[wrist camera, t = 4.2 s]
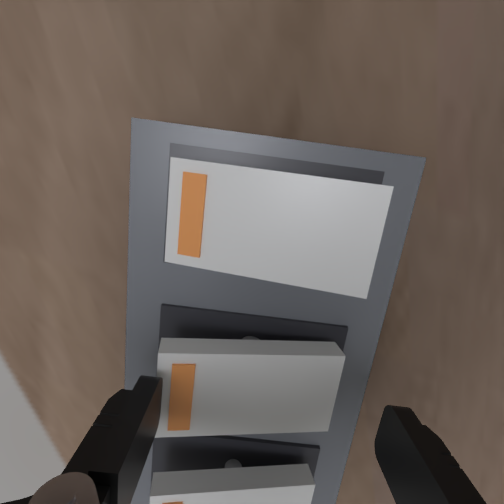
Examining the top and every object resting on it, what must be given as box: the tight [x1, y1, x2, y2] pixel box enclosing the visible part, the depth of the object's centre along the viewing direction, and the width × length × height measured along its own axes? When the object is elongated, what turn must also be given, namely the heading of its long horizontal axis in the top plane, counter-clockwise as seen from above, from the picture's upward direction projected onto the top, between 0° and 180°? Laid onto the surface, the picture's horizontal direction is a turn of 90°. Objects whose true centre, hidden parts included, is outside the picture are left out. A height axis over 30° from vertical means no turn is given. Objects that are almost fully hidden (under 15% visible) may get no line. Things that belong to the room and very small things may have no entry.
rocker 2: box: [155, 336, 346, 438], centre depth 12 cm, size 7×4×2 cm, turn 83°
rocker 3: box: [150, 459, 315, 504], centre depth 14 cm, size 7×4×2 cm, turn 83°
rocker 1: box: [165, 157, 394, 299], centre depth 11 cm, size 7×4×2 cm, turn 83°
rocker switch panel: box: [125, 118, 426, 504], centre depth 15 cm, size 11×19×3 cm, turn 173°
